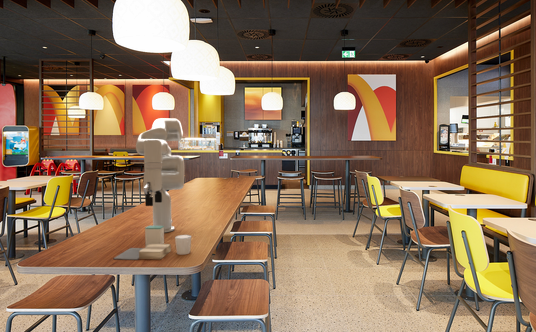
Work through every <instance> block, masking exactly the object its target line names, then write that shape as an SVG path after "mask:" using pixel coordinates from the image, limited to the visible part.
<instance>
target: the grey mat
mask: <svg viewBox="0 0 536 332" xmlns="http://www.w3.org/2000/svg"><path fill="white" fill-rule="evenodd" d="M143 248H144V247H130V248H129V249H127V250H125V251H123V252H122V253H119V254H118V255H116V256H115V257H113V260H122V261H123V260H125V261H126V260H127V261H138V260H140V259H139V251H140V250H142V249H143Z"/></svg>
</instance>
